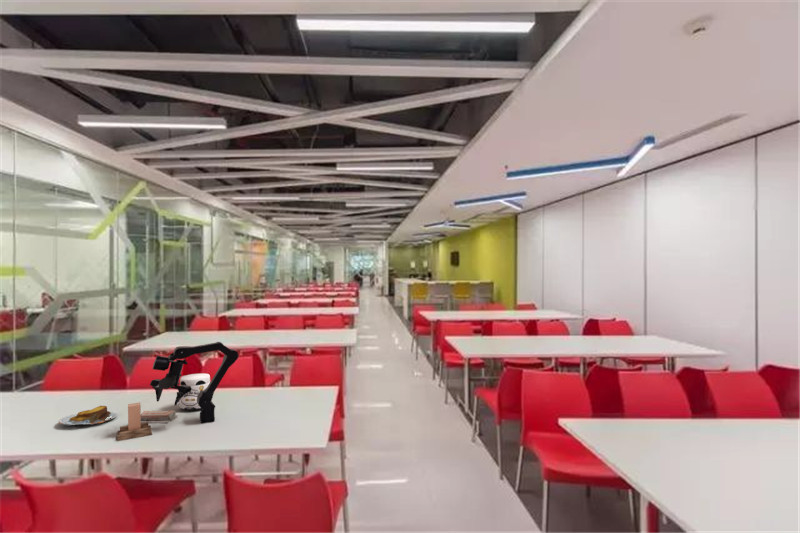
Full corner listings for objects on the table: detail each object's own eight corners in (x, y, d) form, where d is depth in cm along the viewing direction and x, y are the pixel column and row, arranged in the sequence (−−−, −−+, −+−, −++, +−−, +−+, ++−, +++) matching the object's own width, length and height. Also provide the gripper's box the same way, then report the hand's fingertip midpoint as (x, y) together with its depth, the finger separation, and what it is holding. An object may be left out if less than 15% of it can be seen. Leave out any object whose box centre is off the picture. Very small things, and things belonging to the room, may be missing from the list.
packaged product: (178, 408, 238) (167, 414, 228) (178, 418, 238) (167, 424, 228) (145, 408, 239) (133, 414, 229) (146, 417, 239) (133, 424, 229)
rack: (150, 427, 223) (150, 421, 223) (152, 434, 212) (151, 428, 212) (117, 432, 215) (117, 426, 215) (117, 441, 204) (117, 434, 204)
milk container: (183, 414, 242) (183, 381, 242) (174, 407, 255) (174, 376, 255) (216, 408, 253) (216, 376, 253) (206, 401, 266) (206, 371, 266)
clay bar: (140, 429, 217) (140, 402, 217) (140, 432, 213) (140, 405, 213) (128, 431, 214) (128, 404, 215) (128, 434, 210) (128, 406, 210)
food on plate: (62, 419, 237) (62, 407, 237) (117, 411, 250) (117, 400, 251) (56, 434, 216) (55, 420, 216) (116, 424, 229) (116, 411, 229)
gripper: (147, 369, 216) (138, 401, 214) (184, 377, 215) (175, 410, 213) (160, 367, 227) (152, 398, 225) (195, 375, 226) (187, 406, 224)
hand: (166, 403), depth 221 cm, fingers open, 9 cm apart
